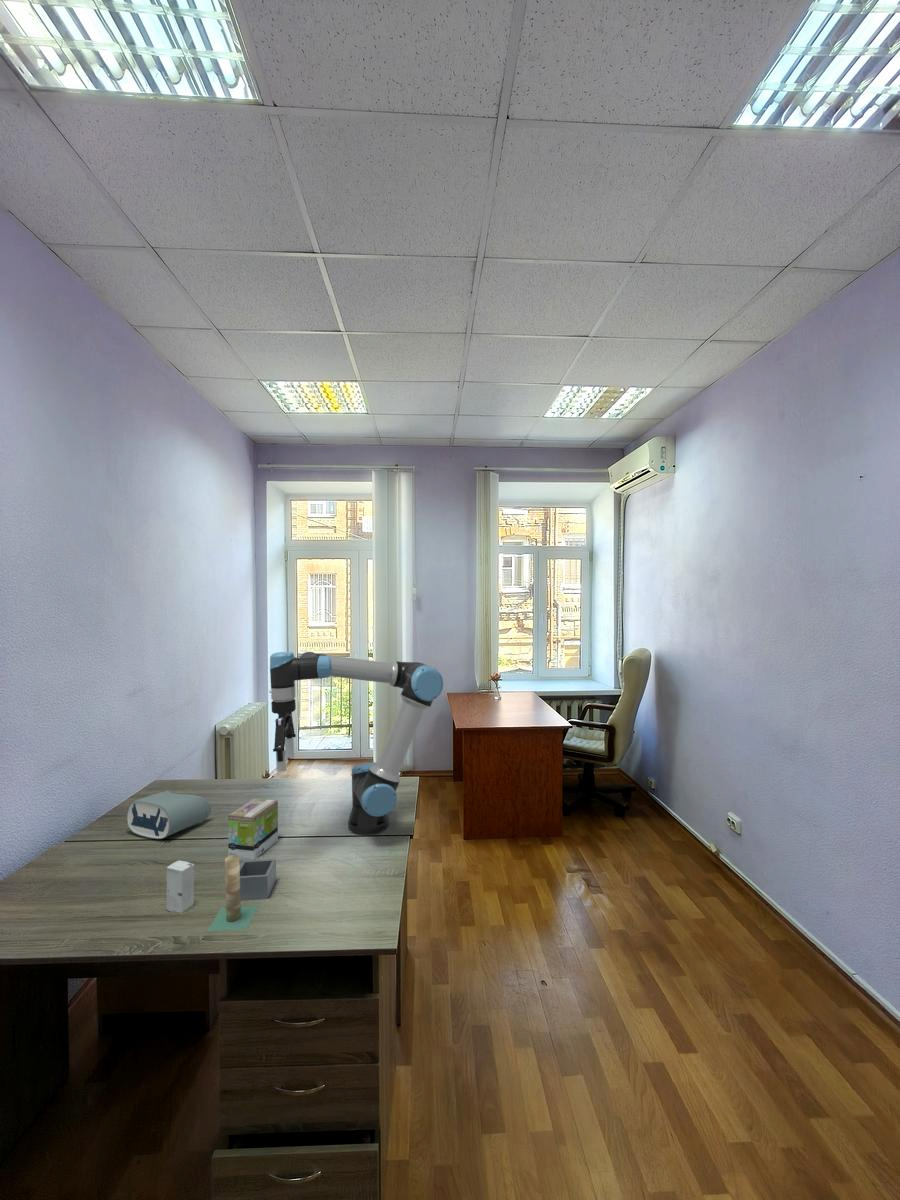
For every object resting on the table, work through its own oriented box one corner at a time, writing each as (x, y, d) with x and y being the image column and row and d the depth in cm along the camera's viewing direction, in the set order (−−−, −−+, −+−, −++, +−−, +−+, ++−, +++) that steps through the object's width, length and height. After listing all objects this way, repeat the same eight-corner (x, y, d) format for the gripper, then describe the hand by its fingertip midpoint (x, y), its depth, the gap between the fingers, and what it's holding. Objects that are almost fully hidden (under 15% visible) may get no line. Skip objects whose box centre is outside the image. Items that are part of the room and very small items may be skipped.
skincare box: (165, 910, 143) (164, 867, 143) (179, 901, 148) (178, 859, 147) (182, 915, 141) (181, 871, 141) (195, 906, 145) (194, 863, 145)
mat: (258, 907, 144) (258, 905, 144) (247, 931, 134) (247, 928, 134) (221, 910, 143) (220, 908, 143) (207, 933, 133) (207, 931, 133)
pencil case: (125, 834, 191) (126, 798, 191) (170, 815, 208) (171, 783, 209) (168, 843, 182) (169, 806, 183) (212, 823, 200) (212, 790, 201)
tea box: (255, 861, 169) (254, 816, 169) (227, 859, 171) (226, 814, 171) (279, 840, 184) (278, 798, 184) (253, 838, 186) (252, 797, 186)
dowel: (242, 913, 141) (241, 854, 140) (238, 921, 137) (236, 861, 137) (228, 914, 140) (227, 855, 140) (224, 922, 137) (222, 862, 136)
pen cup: (276, 882, 157) (275, 859, 157) (267, 900, 147) (267, 876, 147) (243, 884, 156) (243, 860, 156) (233, 902, 146) (232, 878, 146)
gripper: (279, 693, 182) (282, 753, 183) (262, 708, 157) (264, 778, 158) (301, 691, 183) (303, 751, 183) (287, 707, 158) (290, 776, 159)
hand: (285, 764), depth 171 cm, fingers open, 13 cm apart
